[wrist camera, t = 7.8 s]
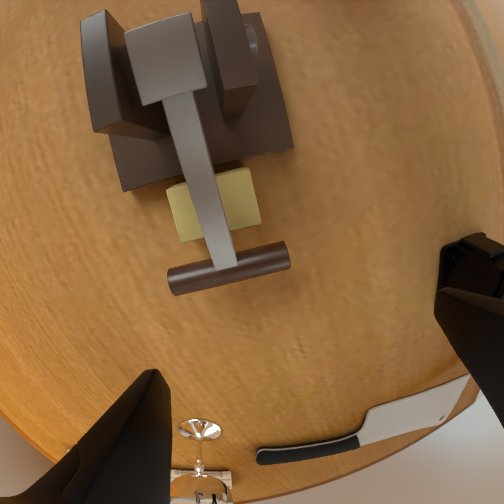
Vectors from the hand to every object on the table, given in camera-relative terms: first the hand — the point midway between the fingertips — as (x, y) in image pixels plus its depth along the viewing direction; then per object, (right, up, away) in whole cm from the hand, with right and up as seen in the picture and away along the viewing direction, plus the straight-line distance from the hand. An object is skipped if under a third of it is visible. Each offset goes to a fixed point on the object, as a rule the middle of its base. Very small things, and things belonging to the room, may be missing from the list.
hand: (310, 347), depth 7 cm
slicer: (-5, +12, +7) cm, 14 cm away
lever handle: (-4, +7, +4) cm, 9 cm away
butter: (-4, +6, +9) cm, 11 cm away
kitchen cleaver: (+14, -19, +20) cm, 31 cm away
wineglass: (-7, -16, +17) cm, 24 cm away
